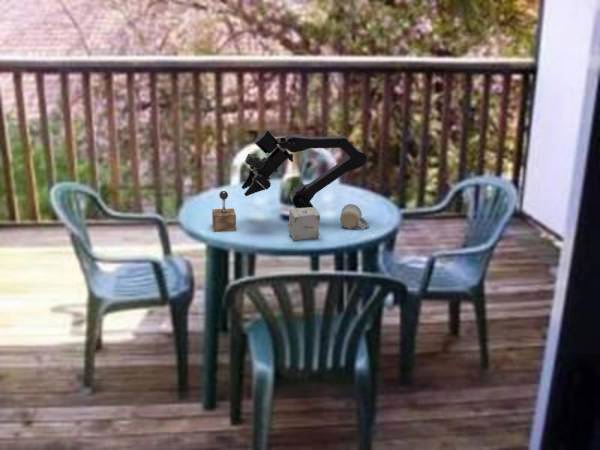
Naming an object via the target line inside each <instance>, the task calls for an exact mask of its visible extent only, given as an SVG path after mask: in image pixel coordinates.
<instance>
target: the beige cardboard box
mask: <svg viewBox="0 0 600 450" xmlns="http://www.w3.org/2000/svg"><path fill="white" fill-rule="evenodd" d="M288 215H289V218H288V220H289V221H288V233H289V235H290V237H291V239H292V241H293V242H295V241H296V242H297V241H300V240H309V239H311V240H312V239H314V240H316V239H318V238H320V231H319V230H320V229H319V228H320V221H321V214H320V213H319V211H318V210H317V208H316V207H315V206H313V207H308V208H296V207H293V208H289V214H288Z"/></svg>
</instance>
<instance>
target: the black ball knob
mask: <svg viewBox="0 0 600 450" xmlns="http://www.w3.org/2000/svg"><path fill="white" fill-rule="evenodd" d="M218 195H219V196H218V197H219V198H220V199H221V200H222V205H221V206H222V209H223V212H221V213H226V212H225V209H226V200H227V199H228V197H229V193H228V192H227V191H226V190H222V191H220V192H219V194H218Z"/></svg>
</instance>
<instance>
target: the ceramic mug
mask: <svg viewBox="0 0 600 450" xmlns="http://www.w3.org/2000/svg"><path fill="white" fill-rule="evenodd" d="M362 215H363V214H362V210H361V209H360V207H359V206H357V204H352V203H350V204H346V205H344V207H343V208H342V210H341V213H340V217H339V221H340V224H341V226H342V227H344V228H346V229H348V230H349V229H350V230H352V229H354V228H356V227H359V228H361V229H367V228H368V226H369V224H370V223H369V222H368V221H367V220H366V219H365V218H363V217H362Z"/></svg>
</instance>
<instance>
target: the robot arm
mask: <svg viewBox="0 0 600 450" xmlns="http://www.w3.org/2000/svg"><path fill="white" fill-rule="evenodd" d="M253 142H254V144H255V146H257V147H258V148H259V149H260V150H261V151H262V152H263V153H264V154H269V155H268V156H266V157H265V156H264V157H263V158H260V157H257V156H256V155H254V154H251V153H248V154H247V155H246V157H245V160H244V162H245V164H246V165H248V175H247V177H246V179H245V180H244V182H243V184H242V186H241V189H242V190H245V189H246V191H245V192H244V196H245V197H248V196H251V195H253V194H257V193H260V192H263V191H267V190H269V189H270V187H271V186H272V185H271V184H272V183H271V181H270V180H271V178H270V177H271V176H272V175H274V173H278V171H279V168H280V167H282V165H283V164H284V163H286V161H287V160H289V161H290V163H293V162H294V154H295V153H298V152H303V151H306V150H311V149H342V150H343V152H344V153H345V154H344V156H343V157H342V159H341V160H340V162H338V163H336V164H335V165H333V166H332V167H331V168H329V169H328V170H327V171H325V172H324V173H322V174H320V175H319V176H317V178H315V179H314V180H312V181H311V182H309V183H307V184H304V182H303V181H301V182H300V183H298V185H296V186H294V187H292V190H291V191H290V195H289V197H290V201H291V202H292V203H293V205H294V206H295V208H308V207H314V205H313V204H312V200H313V198H314V197H315V195H317V193H319V192H320V191H321V190H323V189H325V187H327V186H328V185H330V184H332V183H333V182H335V181H336V180H337V179H339V178H340V177H342V176H343V175H345V174H346V173H348V172H352V171H355V170H357V169H360V168H362V167H364V166H365V165H366V163H367V159H368V157H367V155H366V154H365V153H364V152H363V151H362V150H361V149H360V148H356V147H355V146H353V145H352V143H350V141H349V140H348V138H347V137H345V136H344V135H339V136H306V135H301V134H295V133H289V134H287V135H286V136H285V137H284V136H283V137H278V138H277V137H275V136H274V135H273V134H272V133H271V131H270V130H269V129H266V130H265V131H264V132H263V131H262V133H260V134H258V136H257V137H256V138H255V140H254V141H253ZM293 153H294V154H293Z"/></svg>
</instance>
